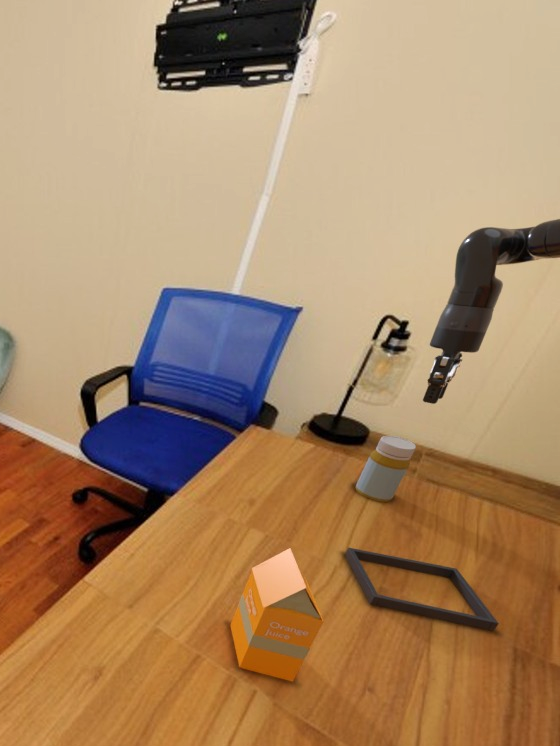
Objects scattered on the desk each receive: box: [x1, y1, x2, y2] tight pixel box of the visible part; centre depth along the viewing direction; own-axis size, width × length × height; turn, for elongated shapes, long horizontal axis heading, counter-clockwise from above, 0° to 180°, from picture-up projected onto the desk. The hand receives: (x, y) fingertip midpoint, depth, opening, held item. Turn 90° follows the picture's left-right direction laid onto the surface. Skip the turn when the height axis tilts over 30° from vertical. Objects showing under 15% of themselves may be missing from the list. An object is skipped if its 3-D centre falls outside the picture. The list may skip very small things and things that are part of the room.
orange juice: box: [230, 547, 325, 682], centre depth 81 cm, size 8×9×20 cm
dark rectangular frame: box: [344, 547, 499, 632], centre depth 96 cm, size 18×14×3 cm
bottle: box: [355, 435, 417, 503], centre depth 120 cm, size 7×7×15 cm
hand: (432, 400), depth 112 cm, fingers open, 8 cm apart
